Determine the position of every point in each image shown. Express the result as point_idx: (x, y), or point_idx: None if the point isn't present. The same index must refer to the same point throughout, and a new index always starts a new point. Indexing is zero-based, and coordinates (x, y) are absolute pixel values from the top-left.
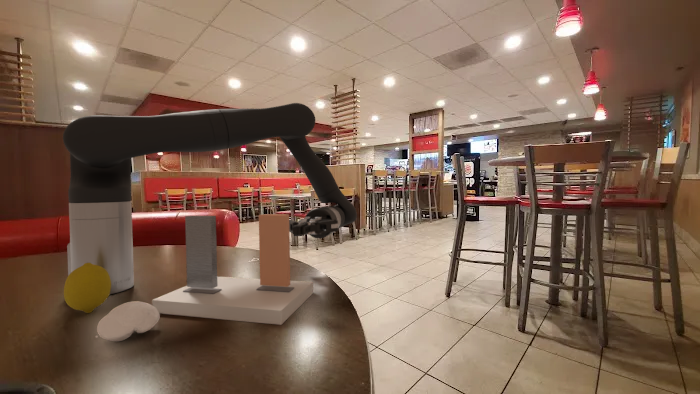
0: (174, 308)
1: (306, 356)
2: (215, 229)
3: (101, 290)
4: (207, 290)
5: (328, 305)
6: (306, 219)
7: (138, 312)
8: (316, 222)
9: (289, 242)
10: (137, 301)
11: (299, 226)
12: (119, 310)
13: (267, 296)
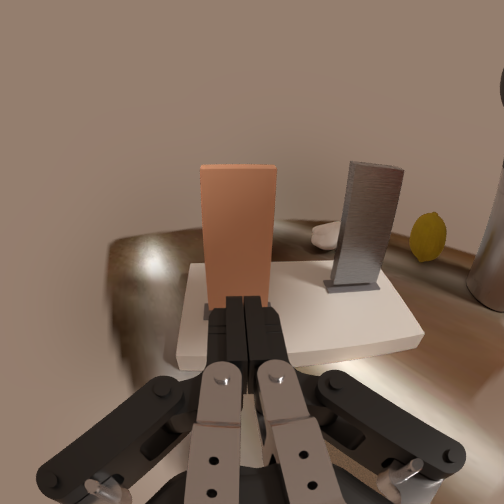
0: None
1: (152, 250)
2: (351, 190)
3: (413, 239)
4: (342, 284)
5: (140, 326)
6: (275, 429)
7: (321, 226)
8: (167, 381)
9: (203, 234)
10: None
11: (230, 296)
12: (337, 222)
13: None
